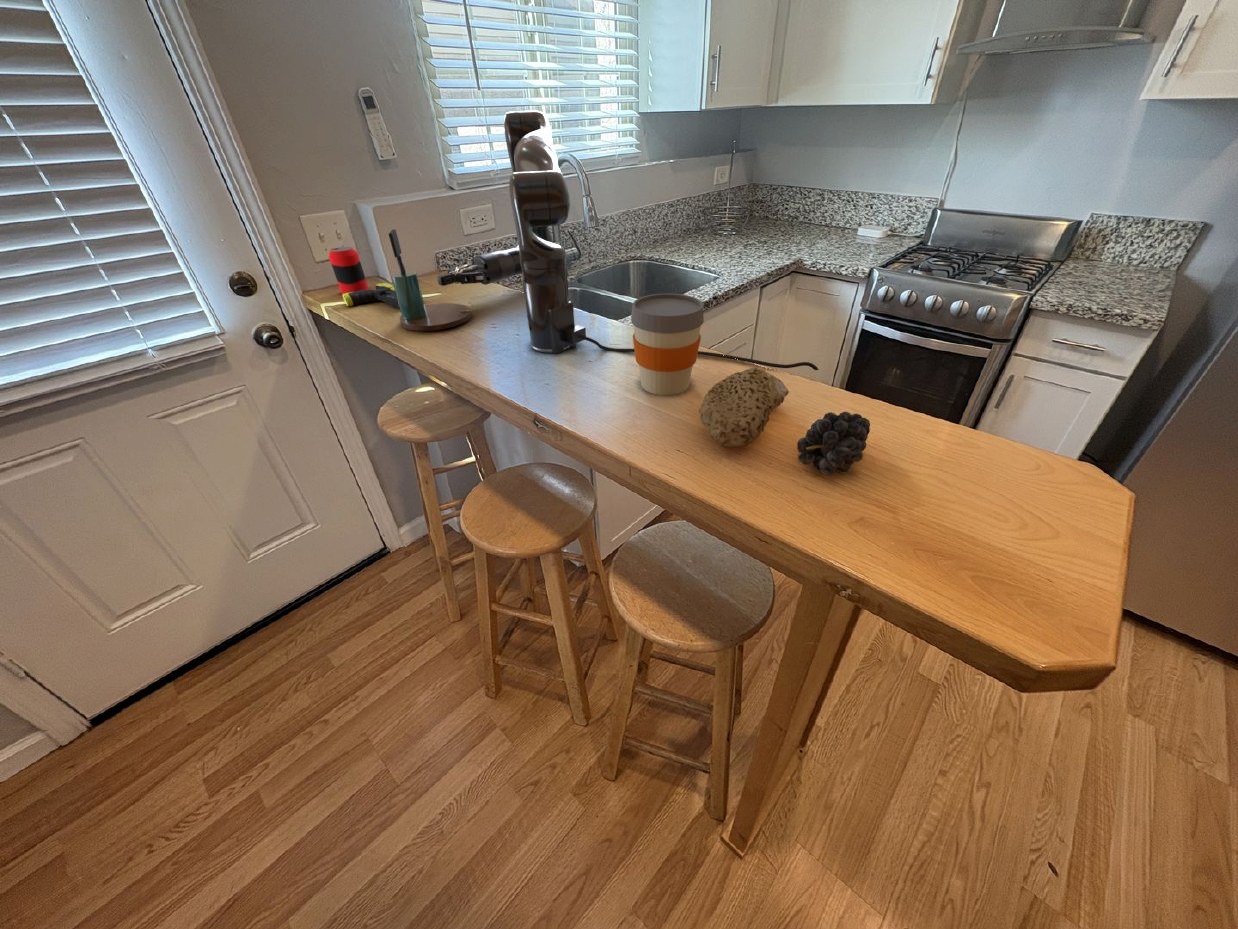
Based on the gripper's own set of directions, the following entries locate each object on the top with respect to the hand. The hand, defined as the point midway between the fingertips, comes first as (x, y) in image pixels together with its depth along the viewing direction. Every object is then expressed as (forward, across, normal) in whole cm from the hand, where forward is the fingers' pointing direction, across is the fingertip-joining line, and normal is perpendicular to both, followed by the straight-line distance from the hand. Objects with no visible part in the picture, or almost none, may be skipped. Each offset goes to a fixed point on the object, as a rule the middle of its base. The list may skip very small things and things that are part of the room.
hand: (439, 281), depth 124 cm
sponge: (+3, +88, +8) cm, 89 cm away
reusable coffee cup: (-1, +70, +8) cm, 70 cm away
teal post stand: (+5, +4, +8) cm, 10 cm away
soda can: (+6, -38, +8) cm, 39 cm away
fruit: (+3, +104, +8) cm, 104 cm away
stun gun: (+7, -21, +8) cm, 23 cm away
